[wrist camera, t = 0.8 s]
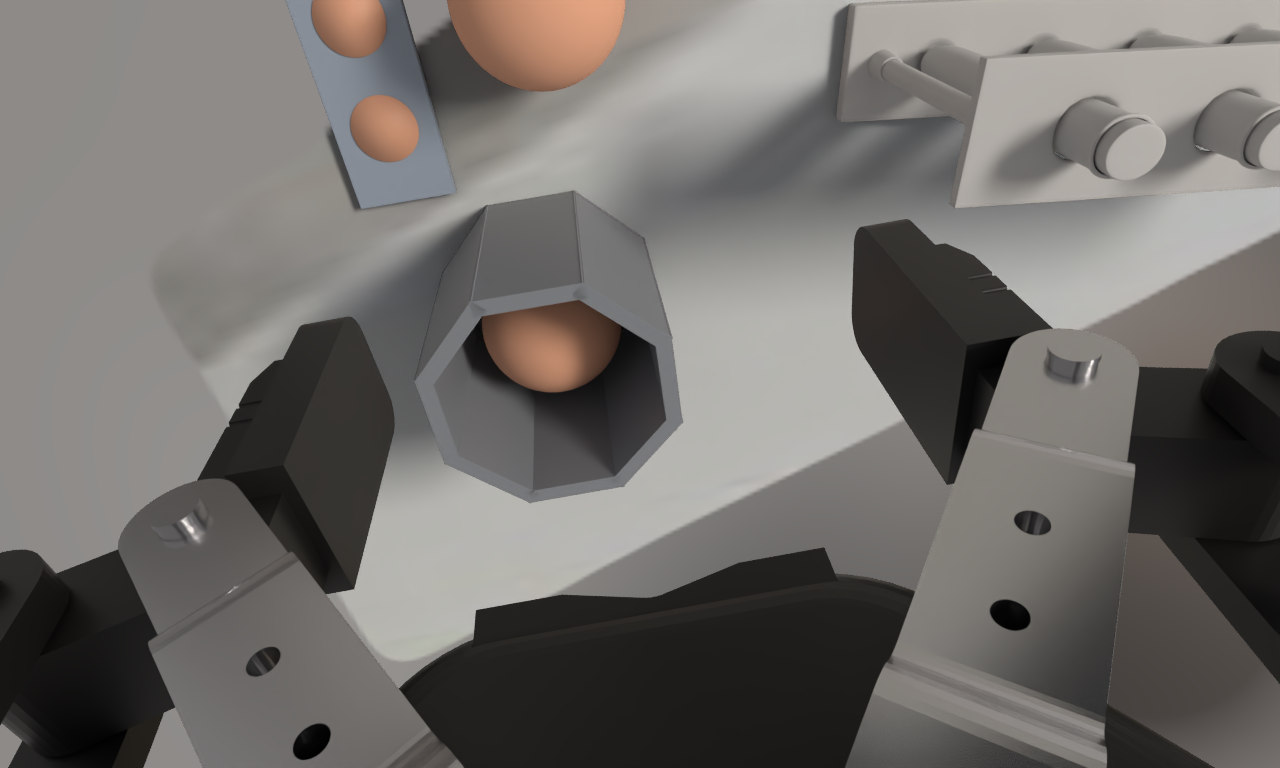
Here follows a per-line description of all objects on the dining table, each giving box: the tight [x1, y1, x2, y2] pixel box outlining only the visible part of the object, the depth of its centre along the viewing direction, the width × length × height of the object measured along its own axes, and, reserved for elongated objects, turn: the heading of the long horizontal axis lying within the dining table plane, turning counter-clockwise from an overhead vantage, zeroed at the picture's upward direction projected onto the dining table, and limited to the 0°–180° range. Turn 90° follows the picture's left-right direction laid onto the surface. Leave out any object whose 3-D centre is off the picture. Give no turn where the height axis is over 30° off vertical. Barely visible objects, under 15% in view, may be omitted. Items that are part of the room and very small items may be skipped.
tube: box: [414, 191, 683, 503], centre depth 31 cm, size 9×9×9 cm
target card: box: [286, 0, 456, 209], centre depth 29 cm, size 10×4×1 cm, turn 8°
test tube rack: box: [836, 0, 1280, 208], centre depth 26 cm, size 25×4×13 cm, turn 92°
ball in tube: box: [482, 300, 621, 392], centre depth 32 cm, size 6×6×6 cm
